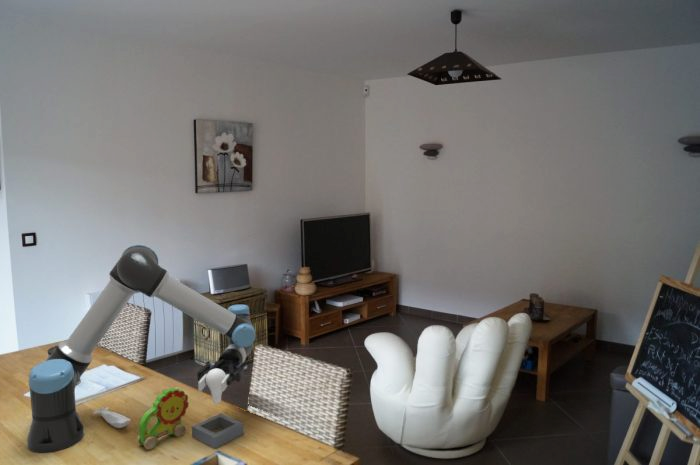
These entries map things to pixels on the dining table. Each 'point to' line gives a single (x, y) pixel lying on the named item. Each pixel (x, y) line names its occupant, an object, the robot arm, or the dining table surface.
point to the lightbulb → (215, 383)
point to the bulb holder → (217, 430)
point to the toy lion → (164, 417)
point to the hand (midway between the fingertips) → (210, 387)
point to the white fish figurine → (113, 418)
